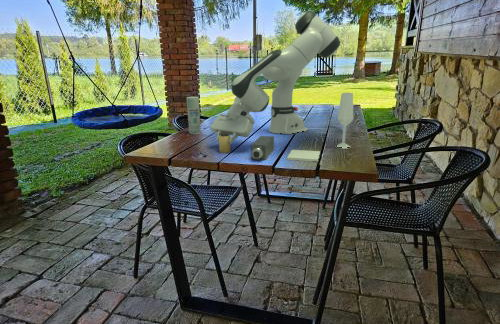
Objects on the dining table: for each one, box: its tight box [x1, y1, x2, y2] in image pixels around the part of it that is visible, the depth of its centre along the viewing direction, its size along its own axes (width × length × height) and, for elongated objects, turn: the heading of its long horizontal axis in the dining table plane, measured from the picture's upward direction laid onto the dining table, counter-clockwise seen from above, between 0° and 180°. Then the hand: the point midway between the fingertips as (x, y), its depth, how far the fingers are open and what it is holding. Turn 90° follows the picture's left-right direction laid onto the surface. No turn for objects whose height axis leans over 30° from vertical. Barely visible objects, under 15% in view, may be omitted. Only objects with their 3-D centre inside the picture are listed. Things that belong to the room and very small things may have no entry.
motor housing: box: [250, 135, 275, 161], centre depth 130 cm, size 22×6×6 cm, turn 164°
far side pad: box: [286, 149, 321, 163], centre depth 127 cm, size 12×12×1 cm
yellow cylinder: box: [218, 133, 232, 154], centre depth 135 cm, size 5×5×8 cm
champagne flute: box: [336, 92, 354, 149], centre depth 138 cm, size 7×7×24 cm
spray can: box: [186, 96, 201, 135], centre depth 171 cm, size 6×6×20 cm
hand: (223, 141), depth 134 cm, fingers closed on yellow cylinder, 5 cm apart
